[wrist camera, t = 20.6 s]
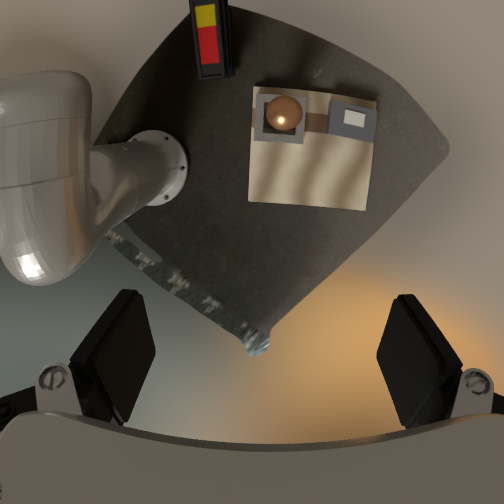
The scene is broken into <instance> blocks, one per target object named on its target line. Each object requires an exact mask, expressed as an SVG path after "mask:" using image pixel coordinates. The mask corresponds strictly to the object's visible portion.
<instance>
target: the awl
mask: <svg viewBox="0 0 504 504" xmlns="http://www.w3.org/2000/svg"><path fill="white" fill-rule="evenodd" d="M266 117H267V120H268V122H269V124H270V125H271V126H272V127H273V128H275V129H278V130H289V129H292V128H294V127H296V126H297V125H298V124H299V123H300V122H301V120H302V117H303V109H302V106H301V104H300V103H299V102H298V101H297V100H296V99H295V98H293V97H291V96H287V95H281V96H277V97H275V98H274V99H272V100H271V101H270V102H269V104H268V106H267V110H266Z"/></svg>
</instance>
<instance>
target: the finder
mask: <svg viewBox="0 0 504 504" xmlns="http://www.w3.org/2000/svg"><path fill="white" fill-rule="evenodd" d="M377 114H378V111H375V110H371V109H367V108H363V107H359V106H355V105H351V104H347V103H342V102H338V101H333V100H332V101H330V102H329V107H328V115H327V123H326V131H325V134H330V135H335V136H340V137H345V138H350V139H354V140H359V141H363V142H367V143H374V137H375V130H376V122H377Z"/></svg>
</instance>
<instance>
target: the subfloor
mask: <svg viewBox="0 0 504 504" xmlns="http://www.w3.org/2000/svg"><path fill="white" fill-rule="evenodd" d="M256 94H274V95H287V96H298V97H306V111H305V127H304V143H303V144H293V143H281V142H266V141H254V124H255V104H256ZM332 100H333V101H338V102H342V103H347V104H351V105H355V106H359V107H363V108H367V109H371V110H375V111H376V102H374V101H369V100H364V99H359V98H354V97H348V96H343V95H336V94H330V93H323V92H315V91H307V90H297V89H287V88H273V87H254V91H253V110H252V131H251V152H250V173H249V195H248V201H253V202H270V203H285V204H298V205H310V206H322V207H333V208H343V209H353V210H362V211H365V209H366V202H367V195H368V188H369V181H370V173H371V164H372V154H373V144H374V143H367V142H363V141H359V140H354V139H350V138H345V137H340V136H335V135H330V134H325V131H326V123H327V115H328V107H329V102H330V101H332ZM267 106H268V104H264V121H263V133H270V134H284V135H294V128H292V129H289V130H278V129H275V128H273V127H272V126H271V125H270V124H269V122H268V120H267V117H266V110H267Z"/></svg>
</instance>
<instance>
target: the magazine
mask: <svg viewBox="0 0 504 504" xmlns="http://www.w3.org/2000/svg"><path fill="white" fill-rule="evenodd" d="M189 6H190V15H191V24H192V32H193V41H194V49H195V57H196V64H197V72H198V79H199V81H201V80H210V79H220V78H229V76H235V62H234V37H233V12H232V9H228V0H189Z"/></svg>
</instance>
